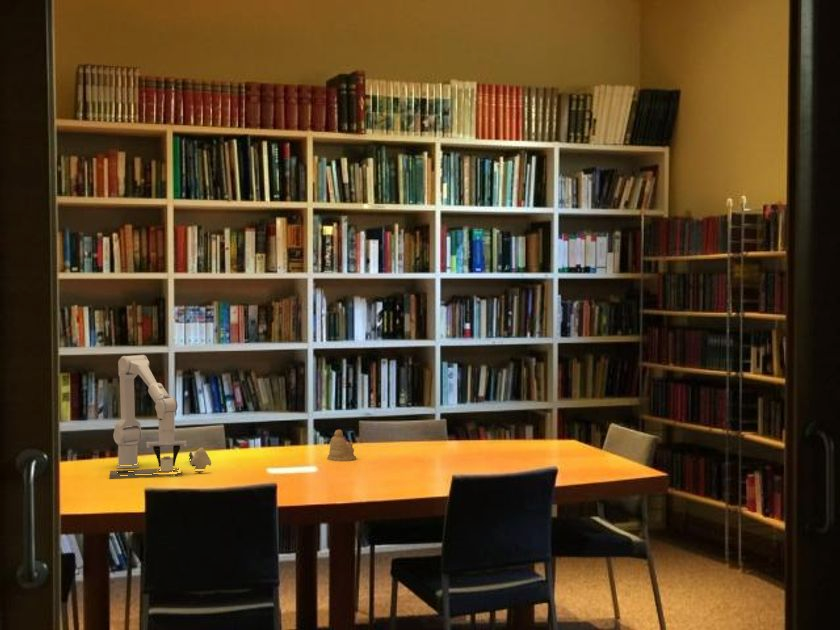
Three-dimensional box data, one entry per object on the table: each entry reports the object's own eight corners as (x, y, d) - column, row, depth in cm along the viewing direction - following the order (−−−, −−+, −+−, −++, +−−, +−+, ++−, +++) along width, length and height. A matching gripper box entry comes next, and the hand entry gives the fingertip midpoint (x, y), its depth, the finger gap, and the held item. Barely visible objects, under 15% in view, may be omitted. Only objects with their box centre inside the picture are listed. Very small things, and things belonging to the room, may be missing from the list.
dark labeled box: (208, 459, 437) (208, 449, 436) (213, 470, 413) (213, 459, 412) (172, 461, 433) (172, 451, 433) (175, 472, 409) (175, 461, 409)
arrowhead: (190, 474, 402) (189, 447, 401) (189, 473, 404) (189, 446, 404) (211, 473, 404) (211, 447, 403) (211, 472, 406) (211, 446, 406)
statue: (316, 434, 432) (331, 424, 440) (323, 466, 436) (337, 455, 444) (340, 437, 425) (354, 427, 433) (346, 469, 429) (361, 458, 437)
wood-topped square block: (160, 472, 402) (160, 456, 402) (172, 471, 403) (172, 455, 403) (160, 474, 398) (160, 458, 398) (173, 473, 399) (173, 457, 399)
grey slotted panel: (110, 474, 400) (110, 470, 400) (181, 472, 406) (181, 467, 406) (109, 478, 392) (109, 474, 392) (182, 475, 398) (182, 471, 398)
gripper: (146, 432, 395) (146, 468, 395) (186, 430, 398) (186, 467, 399) (146, 429, 401) (146, 465, 402) (186, 428, 405) (186, 463, 405)
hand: (166, 466), depth 401 cm, fingers closed on wood-topped square block, 4 cm apart
